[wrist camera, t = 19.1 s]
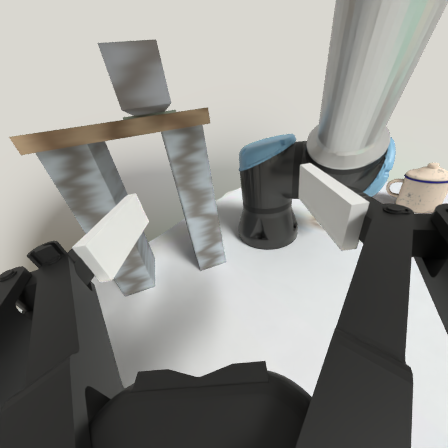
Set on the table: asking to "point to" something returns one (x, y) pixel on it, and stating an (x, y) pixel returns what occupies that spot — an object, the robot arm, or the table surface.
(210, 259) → the bench
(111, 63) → the dark grey bar
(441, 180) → the teacup with lid
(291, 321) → the table surface
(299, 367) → the table surface
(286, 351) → the table surface
